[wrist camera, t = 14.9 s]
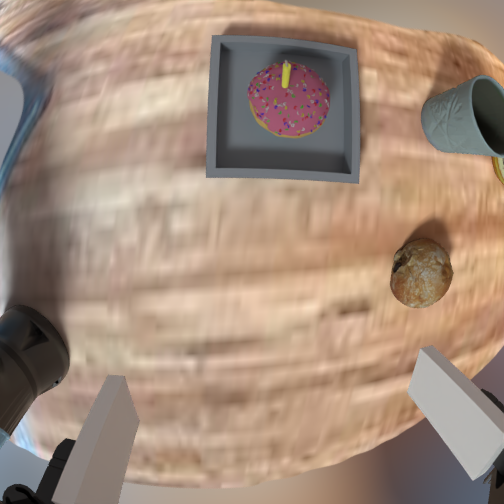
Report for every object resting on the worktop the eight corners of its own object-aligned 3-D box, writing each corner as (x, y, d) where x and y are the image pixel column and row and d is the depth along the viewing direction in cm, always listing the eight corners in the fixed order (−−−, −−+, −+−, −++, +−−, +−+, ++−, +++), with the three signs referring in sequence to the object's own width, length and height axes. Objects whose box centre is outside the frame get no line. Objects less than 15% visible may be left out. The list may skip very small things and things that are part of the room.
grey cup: (462, 163, 35) (518, 166, 23) (414, 149, 34) (472, 144, 23) (462, 103, 32) (515, 93, 21) (414, 83, 32) (467, 61, 20)
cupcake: (231, 115, 31) (231, 84, 20) (272, 63, 30) (290, 15, 18) (293, 156, 33) (323, 146, 21) (331, 103, 31) (374, 74, 20)
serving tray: (208, 177, 34) (206, 177, 30) (213, 47, 30) (212, 35, 26) (347, 182, 35) (358, 183, 31) (346, 58, 31) (356, 49, 27)
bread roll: (398, 227, 41) (406, 231, 33) (455, 248, 37) (472, 255, 30) (379, 289, 43) (382, 304, 35) (434, 307, 40) (447, 325, 32)
